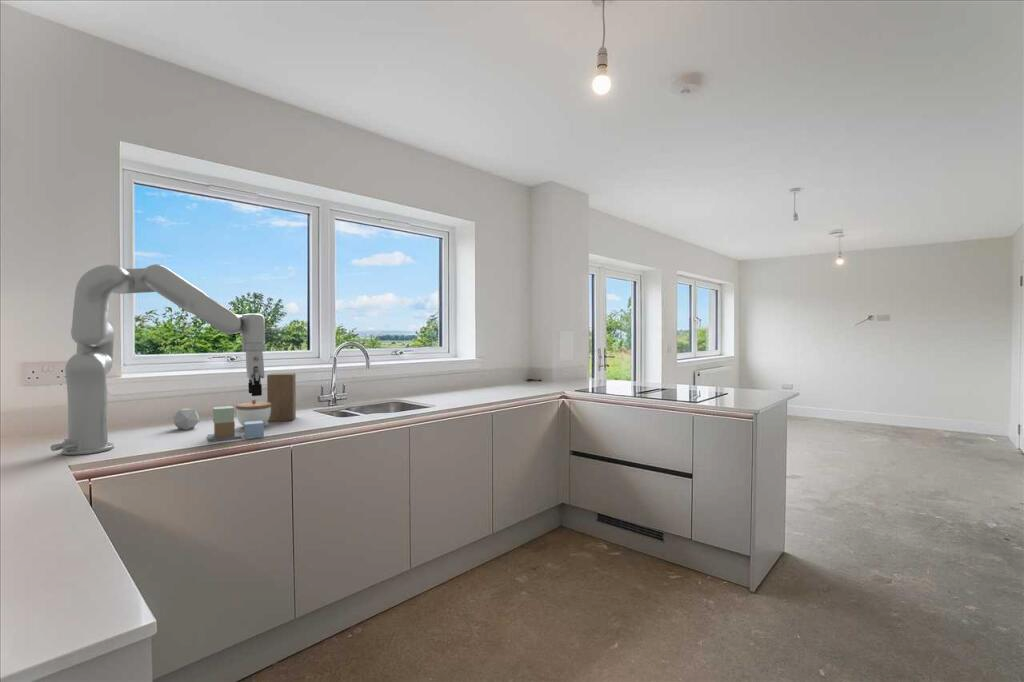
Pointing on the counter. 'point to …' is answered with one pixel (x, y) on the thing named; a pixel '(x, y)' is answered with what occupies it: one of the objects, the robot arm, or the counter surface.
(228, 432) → the tower base
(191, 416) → the die
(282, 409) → the wooden block
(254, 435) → the light blue block
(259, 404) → the lidded bowl
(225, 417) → the green brick
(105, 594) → the counter surface
